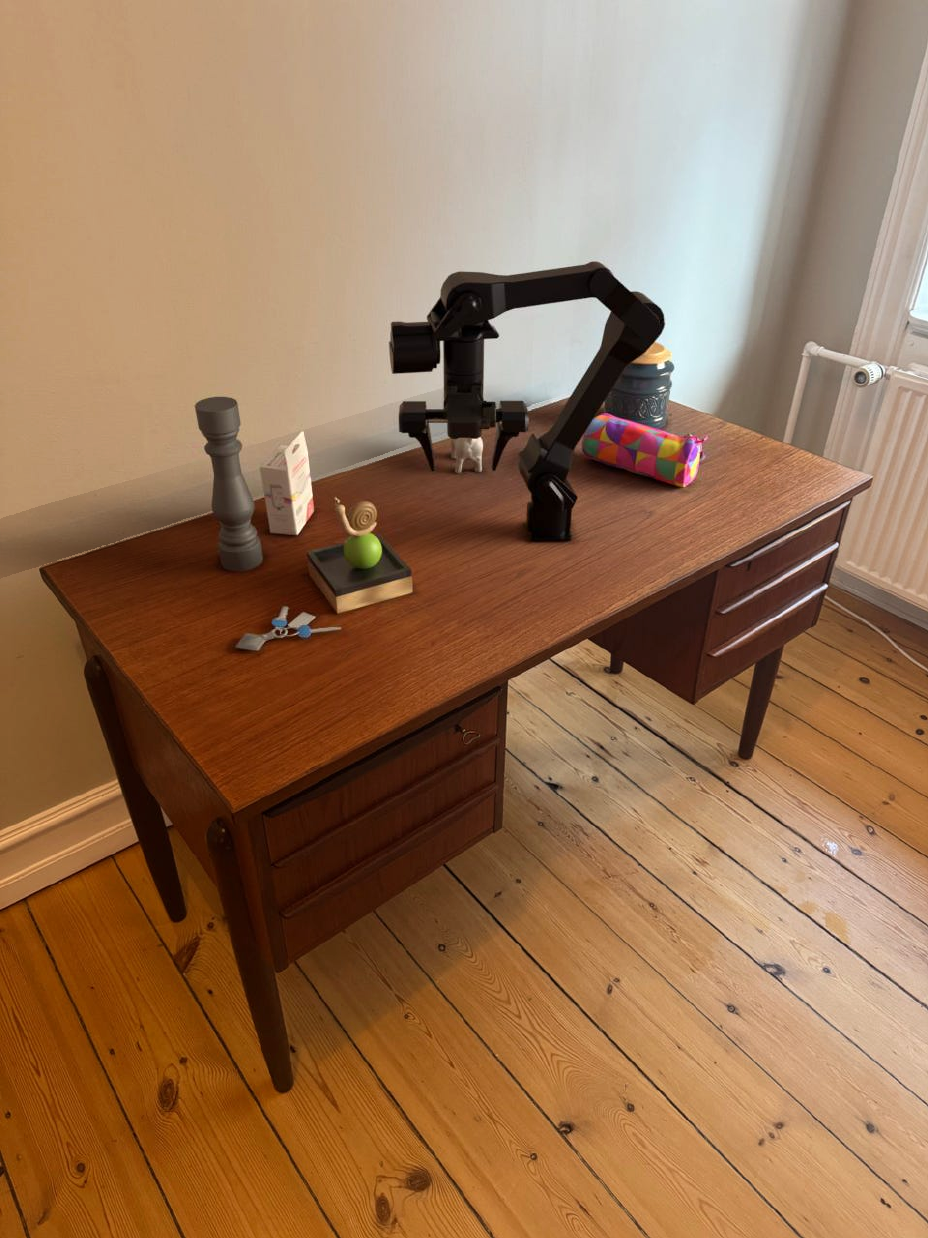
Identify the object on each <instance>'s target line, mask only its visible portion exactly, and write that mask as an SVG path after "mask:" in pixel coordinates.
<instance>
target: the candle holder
mask: <svg viewBox="0 0 928 1238" xmlns="http://www.w3.org/2000/svg"><path fill="white" fill-rule="evenodd" d="M194 409H195V415H196V420H197V427H198V430H199V431H200V432H201V434H202V436H203V437H204V438H205V440H206V443H205V445H204V447H203V449H204V452H205V454H206V455H208V456H209V457H210V461H211V467H212V473H213V478H212V479H213V483H212V492H211V493H212V495H211V506H210V507H211V511H212V514H213V515H214V517H215V519H216V520H217V521H218V522H219V524H220V525H221V529H220V530H219V532H218V535H217V537H218V539H219V541H218V543H217V547H218V552H219V557H220V563H221V565H222V568H224V569H225V570H227V571H232V572H246V571H250V570H253V569H255V568H257V567H259V566H260V565H261V564H262V562H263V559H264V558H263V552H262V543H261V538H260V537H259V535H258V530H257V529H256V527H255V526H254V525H253V524H252V523H251V521H252V516H253V514H254V511H255V501H254V499H253V496H252V494H251V491H250V489H249V487H248V485H247V482H246V480H245V477H244V475H243V473H242V468H241V461H240V452H241V451H242V448H243V444H242V443H243V442H242V441H241V440H239V439H237V438H238V434H239V432H240V427H241V417H240V410H239V404H238V401H237V399H235V398H233V397H229V396H212V397H207V398H203V399H201V400H199V401H197V402H196V403H195V404H194Z"/></svg>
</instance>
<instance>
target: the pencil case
mask: <svg viewBox="0 0 928 1238" xmlns="http://www.w3.org/2000/svg"><path fill="white" fill-rule="evenodd" d="M708 438H709V436H708V435H706V436H704V437H703V438H702V439H699V438H698V436H696V435H692V434H691V433H689V432H688V433H685V434H684V435H682V436H678V435H675V434H672V433H669V432H667V431H664V430H661V429H655V428H652V427H648V426H645V425H641V424H638V423H635V422H632V421H628V420H625V419H620V418H617V417H614V416H612V415H610V414H607V413H603V412H602V413H601V414H599V415H597V416H595V417H594V419H593V420H592V422H591V423H590V425H589V427H588V428H587V430H586V431H585V433H584V434H583V436H582V441H581V452H582V454H583V456H584V457H585V459H587V460H591V461H596V462H598V463H602V464H604V465H607V466H609V467H613V468H616V469H624V470H625V471H627V472H630V473H634V474H637V475H641V476H645V477H648V478H651V479H654V480H657V481H661V482H663V483H667V484H668V485H669V484H670V485H674V486H677V487H680V488H685V487H687V486H688V485H689V484H691V483H692V482H693V481H694V479H696V476H697V473H698V470H699V465H700V462H702V461H704V460H705V458H706V456H707V455H708V452H709V450H706V451H702V448H703V447H702V443H704V442H706V440H707V439H708Z"/></svg>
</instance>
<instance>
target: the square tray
mask: <svg viewBox="0 0 928 1238" xmlns="http://www.w3.org/2000/svg"><path fill="white" fill-rule="evenodd" d="M374 535H375V536H376V537H377V538H378V540H379V541H380V544H381V548H382V553H381V557H380V559H379V561H378V562H377V563H376V564H375V565H374V566H372V567H370V568H368V569H358V568H355V567H353V566H352V565H350V564H349V563H348V561H347V560H346V558H345V556H344V544H345V542H346V541H345V542H341V543H336V544H331V545H327V546H325V547H321V548H315V549H313V550H309V551H306V558H307V568H308V575H309V576H310V578H311V579H312V580H313V583H314V584H315V585H316V587H318V589H319V590H320V592H321V593H322V594H323V596H324V597H325V598H326V600H327V601H328V603H329V604H330V606H331V607H332V608H333V610H334V611H335V612H336V614H342V613H346V612H350V611H353V610H356V609H359V608H363V607H366V606H370V605H373V604H377V603H381V602H383V601H388V600H391V599H395V598H398V597H401V596H405V595H408V594H412V593H413V574H412V568H411V567H410V566H409V565H408V564H407V563H406V562H405V561H404V560H403V558H402V557H401V556H400V555H399V554H398V552H396V551H395V549H394V548H393V547H392V546H391V545H390V544H389V543H388V542H387V541H386V539H384V537H383V536H382V535H381V534H380V533H377V534H374Z"/></svg>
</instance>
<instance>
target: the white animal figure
mask: <svg viewBox="0 0 928 1238" xmlns="http://www.w3.org/2000/svg"><path fill="white" fill-rule="evenodd" d="M483 442H484V441H483V439H482V436H481V437H480V438H477V439H471V438H458V439H451V438H450V448H451V456H450V457H451V458H452V459H455V470H454V472H455V473H456V474H461V473H462V471H463V463H464V461H465V460H470V461H472V462H473V463H474V464H475V468H474V470H473V471H474V472H477V473H481V472H483V467H482V465H483V464H482V460H483V458H482V457H483V452H484V451H483V450H484V443H483Z"/></svg>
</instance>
